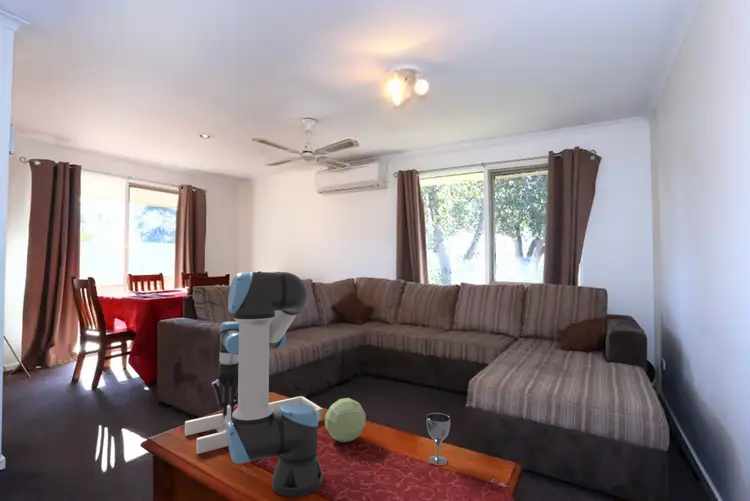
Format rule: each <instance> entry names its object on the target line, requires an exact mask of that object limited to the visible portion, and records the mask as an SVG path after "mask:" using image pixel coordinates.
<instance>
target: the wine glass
mask: <svg viewBox="0 0 750 501" xmlns="http://www.w3.org/2000/svg"><path fill="white" fill-rule="evenodd" d="M450 417H451V416H449V415H448V414H445V413H441V412H432V413H431V412H430V413H428V414H427V415H426V429H427V433H428V435H429V436H430V437H431V438H432V440H433V441H434V444H435V448H436V455H432V456H429V457H430V458H429V457H428V458H429V461H430V462H433V463H435V464H439V465H441V464H442V465H443V464H446V463H447V460H448V459H447V458H446V457H444V456H440V446H441V444H442V442H443V441H444V440H445V439H446V438H447V437H448V435H449V432H450V428H451V418H450Z"/></svg>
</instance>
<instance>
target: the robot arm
mask: <svg viewBox="0 0 750 501" xmlns="http://www.w3.org/2000/svg"><path fill="white" fill-rule="evenodd" d="M308 302H309V290H308V288H307V285H306V284H305V282H304V281H303V280H302V279H301V278H300V277H299V276H297V275H296V274H293V273H290V272H287V271H281V272H280V271H278V272H277V271H274V272H273V271H272V272H271V271H268V272H267V271H266V272H264V271H261V272H260V271H258V272H255V271H247V272H238V273H236V274H235V275H234V276H233V278H232V280H231V283H230V287H229V292H228V300H227V303H228V305H227V310H228V312H229V313H230V314H233V320H235V321H224V322H222V323H221V324H220V330H219V334H220V335H219V364H218V375H217V379H215V381H211V382H210V383H211V385H212V387H213V389H214V394H215V399H216V402H217V405H218V406H219V407H220V408H222V413H223V415H224V416H225V423H226V435H227V442H228V446H227V447H228V451H229V455H230V458H231V461H232V462H233V463H235V464H237V465H238V464H244V463H251V462H254V461H259V460H263V459H267V458H271V457H275V456H278V460H277V463H276V465H275V468H274V472H273V475H272V480H271V481H272V482H271V487H272V490H273V491H274V492H275V493H276V494H278V495H280V496H282V497H286V498H299V497H305V496H308V495H310V494H313V493H314V492H316V491H317V490H319V489H320V488H321V486H322V483H323V472H322V470H323V469H322V468H321V464H320V461H319V459H318V438H319V436H318V431H319V421H318V415H317V411H316V410H315V409H314V408H313V407H311V406H309V405H306V404H300V403H288V404H284V405H282V406H281V407H280V409H279V412H278V413H274V410H273V408H272V407H271V406H270V405H269V404H268V403H270V402H269V399H270V398H269V393H270V392H269V390H270V388H269V387H270V385H269V384H270V382H269V380H270V350H277V349H282V348H284V347H285V345H286V343H287V334H286V332H287V330H288V329H289V327H291V325H292V323H293V321H294V320H295V318H296V316H298V315H300V314H301V313H303V311H304V310H305V308H306V307H307V305H308ZM237 382H238V383H237ZM236 384H237V386H236ZM220 385H221V387H222V395H221V391H220V387H219V386H220ZM235 388H236V390H235ZM236 404H237V409H236V408H235V409H236V410H235V409H234V407H235V406H236ZM234 410H235V411H234ZM233 411H234V412H233ZM231 414H232V421H231Z"/></svg>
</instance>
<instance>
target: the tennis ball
mask: <svg viewBox="0 0 750 501" xmlns="http://www.w3.org/2000/svg"><path fill="white" fill-rule="evenodd" d="M366 414H367V413H366V412H365V410H364V409H363V407H362V404H360V402H358V401H357V400H354V399H352V398H350V397H345V398H339V399H338V400H336V401H335V402H334V403H332V404H331V405H330V406H329V408H328V410H327V411H326V414H325V415H324V426H325V429H326V430H327V432H328V435H329V436H330V437H331V438H332V439H334V440H335V441H337V442H340V443H347V442H352V441H354V440H355V439H357V438H359V437H360V436H361V435H362V432H363V430H364V428H365V425H366V420H367V417H366Z"/></svg>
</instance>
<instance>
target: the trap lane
mask: <svg viewBox="0 0 750 501" xmlns="http://www.w3.org/2000/svg"><path fill="white" fill-rule="evenodd" d="M288 403H300V404H306V405H309V406H311V407H313V408H314V409H315V410H316V411H317V415H318V422H322V421H323V414H324V413H323V412H324V411H323V410H324V409H323V408H322V407H320V406H319V405H317V404H316V403H315V402H313V401H311V400H310V399H307V398H306V397H305V396H304V395H299V396H294V397H291V398H286V399H281V400H277V401H272V402H268V404H269V405H270V406H271V407H272V408H273V410H274V413H278V412H279V409H280V407H281V406H282V405H284V404H288ZM223 416H224V415H223V412H222V413H218V414H217V413H216V414H213V415H208V416H203V417H198V418H195V419H190V420H186V421H184V436H191V435H195V434H198V433H200V434H201V433H203V432H207V431H211V430H216V433H212V434H207V435H204V436H200V437H196V448H195V449H196V454H197V455H199V454H203V453H206V452H211V451H214V450H218V449H221V448H226V447H228V442H227V435H226V423H225V419H224V417H223Z"/></svg>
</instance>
